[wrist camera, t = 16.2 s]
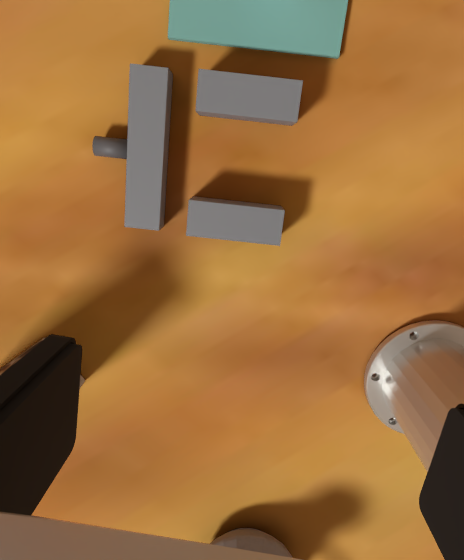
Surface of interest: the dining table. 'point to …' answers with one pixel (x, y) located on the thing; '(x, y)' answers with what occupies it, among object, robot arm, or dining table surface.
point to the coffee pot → (252, 542)
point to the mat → (262, 24)
